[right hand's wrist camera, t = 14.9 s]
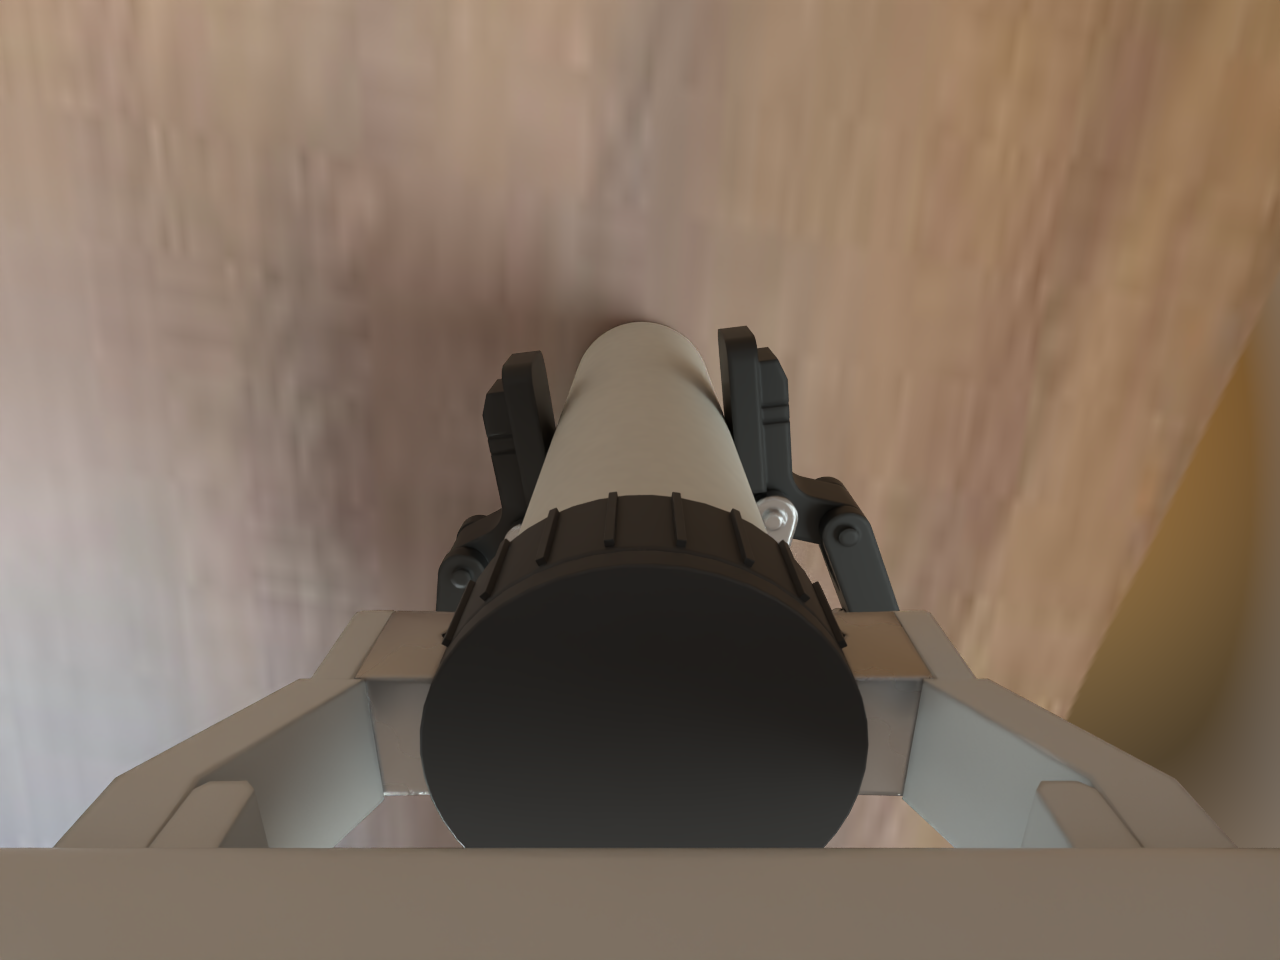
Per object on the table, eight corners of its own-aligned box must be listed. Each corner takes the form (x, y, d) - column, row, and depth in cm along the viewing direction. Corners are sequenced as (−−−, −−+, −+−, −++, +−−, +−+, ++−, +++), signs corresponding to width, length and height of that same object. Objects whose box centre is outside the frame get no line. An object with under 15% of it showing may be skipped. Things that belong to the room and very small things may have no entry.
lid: (753, 840, 11) (774, 960, 10) (419, 760, 11) (375, 873, 9) (897, 552, 10) (957, 637, 8) (501, 437, 9) (466, 499, 7)
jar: (598, 466, 25) (534, 885, 10) (556, 343, 24) (404, 620, 8) (723, 431, 25) (855, 816, 10) (688, 303, 23) (781, 520, 8)
